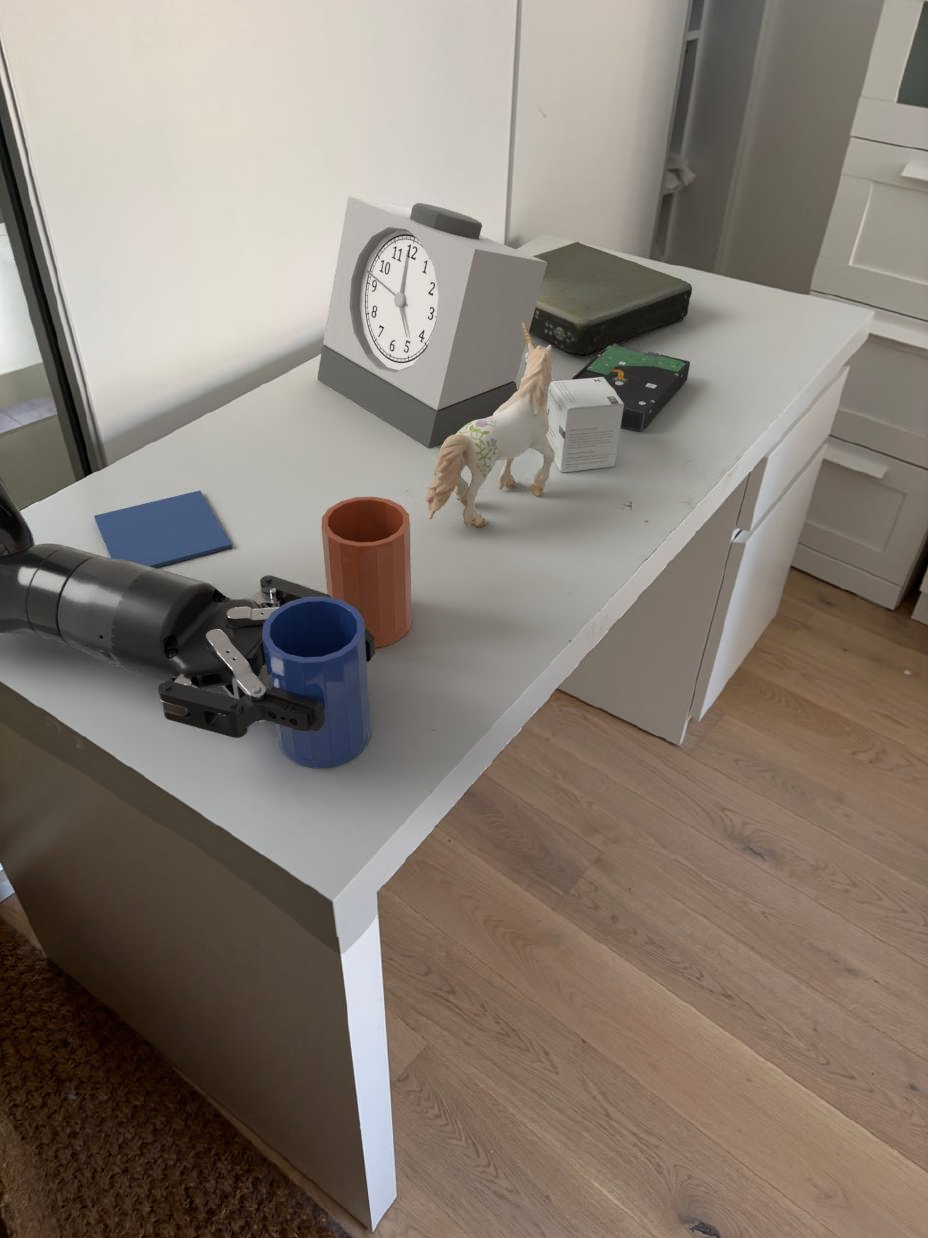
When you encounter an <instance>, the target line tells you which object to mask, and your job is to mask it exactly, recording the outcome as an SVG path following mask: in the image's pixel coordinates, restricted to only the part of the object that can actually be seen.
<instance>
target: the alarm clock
mask: <svg viewBox="0 0 928 1238" xmlns="http://www.w3.org/2000/svg"><path fill="white" fill-rule="evenodd" d="M342 225H343V226H342V232H341V237H340V243H339V249H338V253H337V254H338V255H337V260H336V266H335V272H334V278H333V284H332V290H331V294H330V302H329V307H328V311H327V312H328V313H327V318H326V325H325V330H324V336H323V342H322V344H323V345H322V346H321V352H320V357H319V358H320V359H319V366H318V372H317V377H316V378H317V380H318V381H320V382H321V383H323V384H325V385H326V386H328V387H330V388H331V389H333V390H334V391H336V392H337V393H339V394H341V395H342V396H344V397H346V398H347V399H348V400H351V401H352V402H354V403H355V404H357V405H358V406H360V407H362V408H363V409H364V410H366V411H368V412H369V413H371V414H373V415H374V416H376V417H378V418H379V419H381V420H382V421H384V422H385V423H387V424H389V425H390V426H392V427H394V428H395V429H396V430H398V431H400V432H401V433H403V434H405V435H406V436H408V437H409V438H411V439H413V440H414V441H416V442H417V443H419V444H421V445H422V446H424V447H426V448H427V449H430V448H433V447H435V446H438V445H440V444H443V443H444V441H445V440H446V439H447V438H448V437H449V436H451V435H455V434H456V433H457V432H458V431H459V430H460V429H461V428H462V427H464V426H465V425H466V424H468V423H470V422H472V421H475V420H479V419H484V418H487V417H490V416H493V413H494V412H495V411H496V410H497V409H498V408H499V407H500V406H501V405H502V404H504V403H505V402H506V401H508V400H509V399H510V398H511V397H512V395H513V394H514V393H515V392H516V391H518V387H517V383H516V382H517V381H516V380H517V378H518V375H519V370H520V367H521V363H522V359H523V356H524V352H525V348H526V345H527V342H526V339H525V335H524V332H523V327H522V323H523V322H524V323H525V325H526V326H527V329H528V332H529V329H530V326H531V322H532V318H533V314H534V311H535V307H536V303H537V299H538V296H539V292H540V288H541V284H542V281H543V277H544V273H545V269H546V266H547V262H545V261H543V260H540V259H538V258H535V257H533V256H534V255H531V254H528V253H525V252H523V251H520V250H518V249H516V248H513V247H510V246H508V245H505V244H503V243H501V242H498V241H497V240H493V239H491V238H488V237H486V236H483V235H481V232H482V228H483V223H482V222H481V221H479V220H478V219H476V218H473V217H471V216H469V215H466V214H463V213H460V212H458V211H454V210H451V209H447V208H445V207H441V206H436V205H433V204H429V203H428V204H427V203H422V202H416V203H415V204H413V205H412V207H411V208H408V207H404V206H403V207H402V206H399V205H393V204H390V203H384V202H380V201H374V200H371V199H365V198H361V197H356V196H351V195H348V197H347V202H346V206H345V212H344V219H343V224H342ZM529 333H530V332H529Z"/></svg>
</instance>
